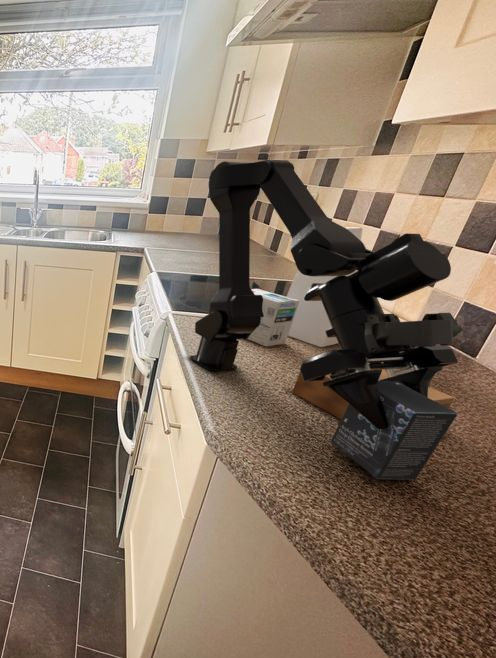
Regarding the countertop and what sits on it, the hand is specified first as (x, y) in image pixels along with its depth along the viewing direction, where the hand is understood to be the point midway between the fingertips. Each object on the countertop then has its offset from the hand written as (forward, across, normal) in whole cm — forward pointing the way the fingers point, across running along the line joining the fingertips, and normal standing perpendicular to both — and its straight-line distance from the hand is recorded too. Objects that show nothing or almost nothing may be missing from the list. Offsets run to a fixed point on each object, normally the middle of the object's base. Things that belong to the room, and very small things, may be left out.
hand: (402, 426), depth 53 cm
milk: (-27, +37, +38) cm, 59 cm away
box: (+4, 0, +6) cm, 7 cm away
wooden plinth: (-5, +14, +15) cm, 21 cm away
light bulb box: (-27, +21, +38) cm, 51 cm away
